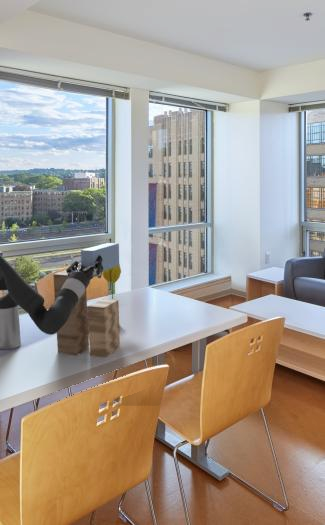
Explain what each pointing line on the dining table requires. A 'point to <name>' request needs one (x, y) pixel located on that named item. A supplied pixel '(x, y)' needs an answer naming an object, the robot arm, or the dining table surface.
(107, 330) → the step
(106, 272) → the flower
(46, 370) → the dining table surface
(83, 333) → the pedestal
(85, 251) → the rail
